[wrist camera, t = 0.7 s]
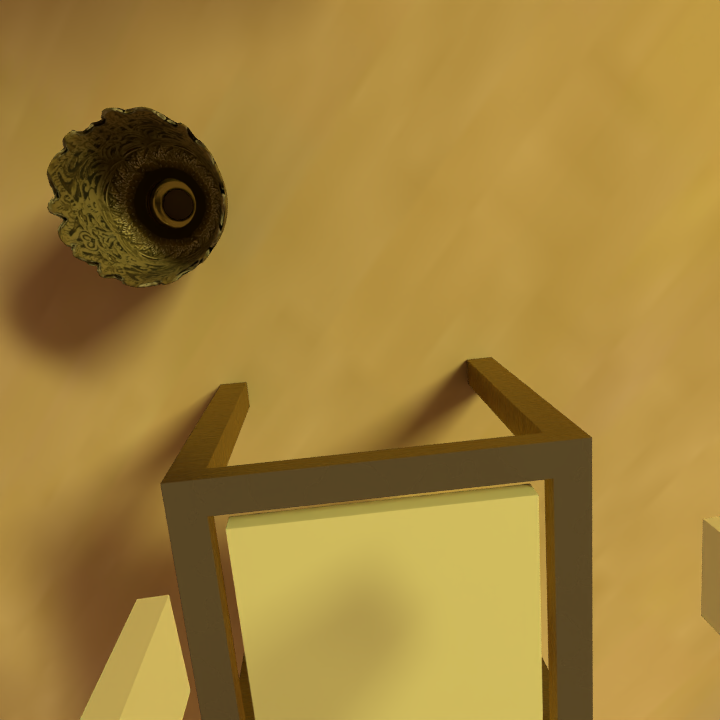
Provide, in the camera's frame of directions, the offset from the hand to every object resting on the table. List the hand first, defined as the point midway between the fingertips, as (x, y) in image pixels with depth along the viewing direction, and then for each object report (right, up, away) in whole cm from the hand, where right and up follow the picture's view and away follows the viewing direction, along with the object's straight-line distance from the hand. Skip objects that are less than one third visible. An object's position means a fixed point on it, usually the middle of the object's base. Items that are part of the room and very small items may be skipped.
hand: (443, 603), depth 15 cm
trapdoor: (-1, -5, +11) cm, 12 cm away
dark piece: (-12, +15, +19) cm, 27 cm away
